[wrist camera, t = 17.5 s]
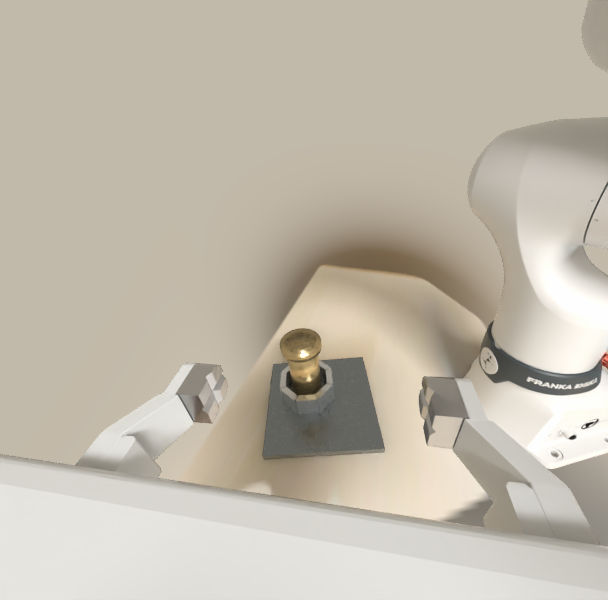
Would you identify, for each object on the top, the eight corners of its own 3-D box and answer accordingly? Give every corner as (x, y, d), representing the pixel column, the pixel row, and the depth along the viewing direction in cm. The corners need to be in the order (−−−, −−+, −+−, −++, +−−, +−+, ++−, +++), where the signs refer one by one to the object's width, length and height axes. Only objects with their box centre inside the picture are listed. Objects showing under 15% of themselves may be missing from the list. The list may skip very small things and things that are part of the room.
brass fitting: (332, 385, 50) (328, 335, 43) (313, 412, 46) (306, 362, 39) (303, 371, 53) (295, 324, 46) (283, 396, 49) (271, 348, 42)
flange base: (362, 360, 55) (362, 344, 53) (384, 452, 40) (386, 435, 38) (274, 367, 56) (270, 352, 54) (263, 459, 41) (257, 443, 39)
